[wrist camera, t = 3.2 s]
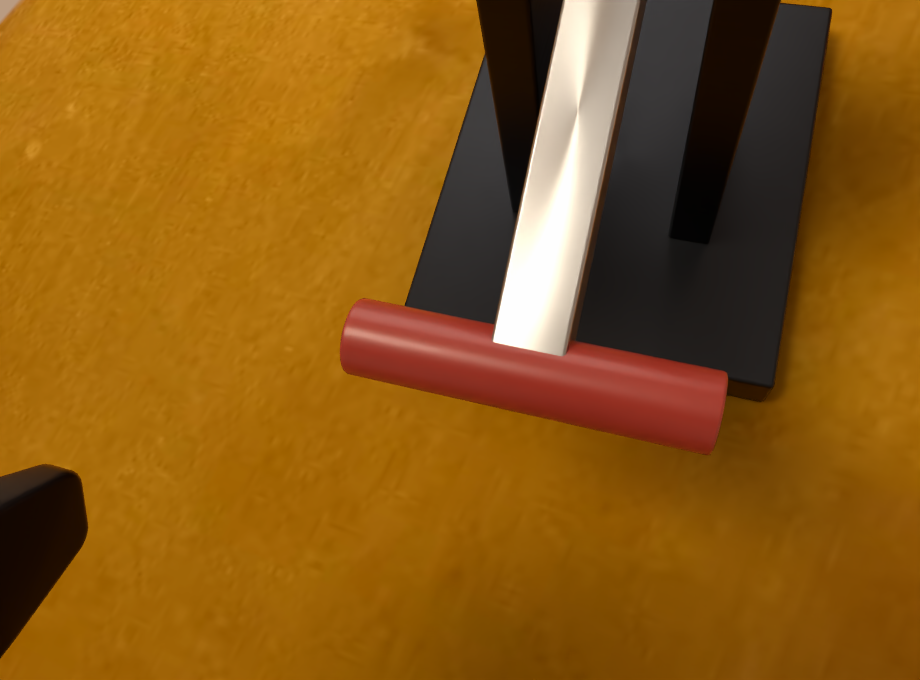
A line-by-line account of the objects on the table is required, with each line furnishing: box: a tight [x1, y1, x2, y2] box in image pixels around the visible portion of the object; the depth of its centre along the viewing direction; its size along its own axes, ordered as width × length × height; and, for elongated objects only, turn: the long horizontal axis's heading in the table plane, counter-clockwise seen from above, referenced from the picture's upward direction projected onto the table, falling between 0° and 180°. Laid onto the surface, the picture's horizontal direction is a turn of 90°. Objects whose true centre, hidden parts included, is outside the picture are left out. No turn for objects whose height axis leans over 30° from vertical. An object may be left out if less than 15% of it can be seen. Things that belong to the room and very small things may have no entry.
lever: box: [340, 0, 728, 455], centre depth 12 cm, size 11×6×2 cm, turn 164°
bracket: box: [405, 0, 832, 402], centre depth 16 cm, size 11×9×13 cm
